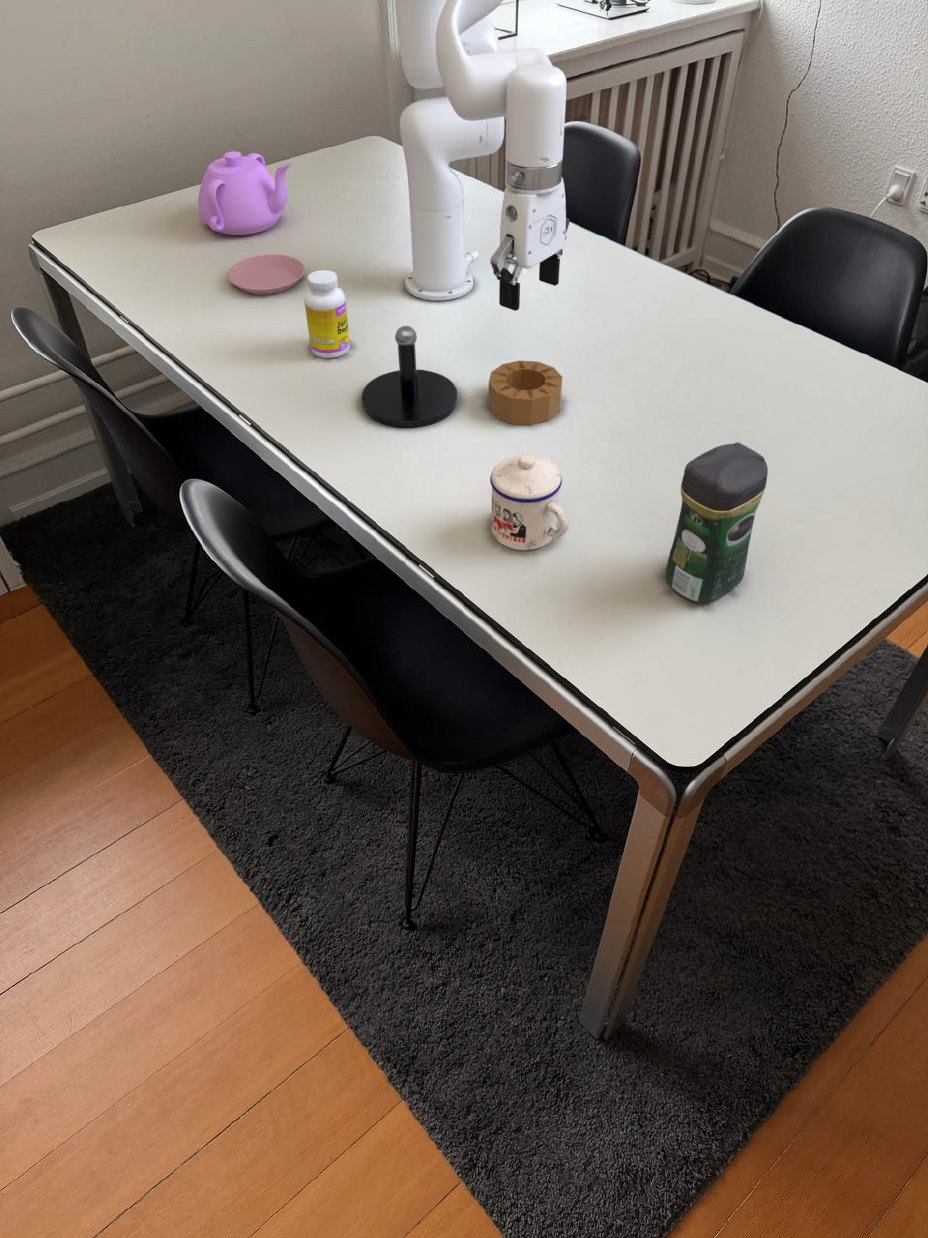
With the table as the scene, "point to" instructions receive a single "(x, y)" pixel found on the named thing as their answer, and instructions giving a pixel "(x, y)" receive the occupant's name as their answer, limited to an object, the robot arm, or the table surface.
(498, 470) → the teacup with lid
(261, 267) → the plate
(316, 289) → the supplement bottle
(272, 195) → the teapot
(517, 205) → the robot arm
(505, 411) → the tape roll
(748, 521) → the coffee jar
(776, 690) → the table surface
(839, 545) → the table surface
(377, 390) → the stand
